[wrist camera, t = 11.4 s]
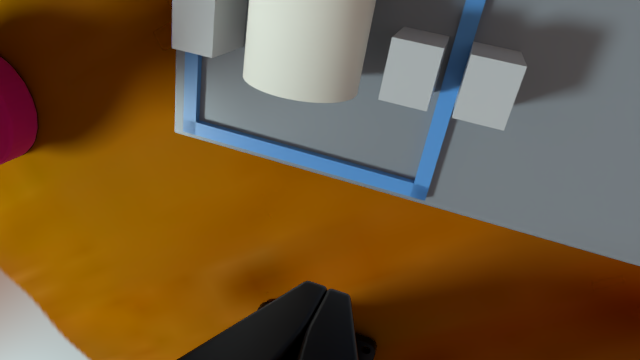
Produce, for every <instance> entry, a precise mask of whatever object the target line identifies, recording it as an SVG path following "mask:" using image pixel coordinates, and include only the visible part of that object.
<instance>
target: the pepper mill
mask: <svg viewBox="0 0 640 360" xmlns="http://www.w3.org/2000/svg"><path fill="white" fill-rule="evenodd" d="M37 129H38V123H37V112H36V109H35V105H34V102H33V99H32V97H31V95H30V93H29V91H28V89H27V87H26V84H25V83H24V81H23V80H22V79H21V77H20V76H19V75H18V73H17V72H16V71H15V70H14V68H13V67H12V66H11V65H10V64H9V63H8V62H6V61H5V60H4V59H3V58H2V57H1V56H0V164H3V163H5V162H7V161H10V160H12V159H14V158H17V157H19V156H21V155H23V154H25V153H26V152H27V151H28V150H29V149H30V148H31V147H32V145H33V143H34V142H35V139H36V134H37Z"/></svg>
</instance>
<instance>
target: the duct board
mask: <svg viewBox="0 0 640 360" xmlns="http://www.w3.org/2000/svg"><path fill="white" fill-rule="evenodd" d="M248 8H249V0H172V48H173V49H176V85H175V132H176V133H179V134H183V135H186V136H190V137H193V138H197V139H200V140H203V141H207V142H210V143H214V144H217V145H221V146H224V147H228V148H231V149H235V150H238V151H242V152H245V153H249V154H252V155H256V156H259V157H262V158H266V159H269V160H273V161H276V162H280V163H283V164H287V165H290V166H294V167H297V168H301V169H304V170H308V171H311V172H315V173H318V174H322V175H325V176H328V177H332V178H335V179H339V180H342V181H346V182H349V183H353V184H356V185H360V186H363V187H367V188H370V189H374V190H377V191H381V192H384V193H387V194H391V195H394V196H398V197H401V198H405V199H408V200H412V201H415V202H419V203H422V204H426V205H429V206H433V207H436V208H440V209H443V210H447V211H450V212H453V213H457V214H460V215H464V216H467V217H471V218H474V219H478V220H481V221H485V222H488V223H492V224H495V225H499V226H502V227H506V228H509V229H513V230H516V231H519V232H523V233H526V234H530V235H533V236H537V237H540V238H544V239H547V240H551V241H554V242H558V243H561V244H565V245H568V246H572V247H575V248H578V249H582V250H585V251H589V252H592V253H596V254H599V255H603V256H606V257H610V258H613V259H617V260H620V261H624V262H627V263H631V264H634V265H638V266H640V0H376V4H375V9H374V14H373V18H372V23H371V28H370V33H369V38H368V43H367V48H366V53H365V58H364V63H363V68H362V73H361V78H360V83H359V88H358V93H357V95H356V97H354V98H353V99H351V100H348V101H344V102H337V103H312V102H302V101H296V100H290V99H285V98H281V97H277V96H274V95H271V94H268V93H265V92H262V91H260V90H258V89H256V88H254V87H252V86H250V85H249V84H248V83H247V82H245V80H244V79H243V67H244V55H245V43H246V31H247V20H248Z"/></svg>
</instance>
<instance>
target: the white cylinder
mask: <svg viewBox="0 0 640 360" xmlns="http://www.w3.org/2000/svg"><path fill="white" fill-rule="evenodd" d="M375 4H376V0H249V8H248V20H247V31H246V43H245V55H244V67H243V79H244V80H245V82H247V83H248V84H249V85H250V86H252V87H254V88H256V89H258V90H260V91H262V92H265V93H268V94H271V95H274V96H277V97H281V98H285V99H290V100H296V101H302V102H312V103H337V102H344V101H348V100H351V99H353V98H354V97H356V95H357V93H358V88H359V83H360V78H361V73H362V68H363V63H364V58H365V53H366V48H367V43H368V38H369V33H370V28H371V23H372V18H373V14H374V9H375Z"/></svg>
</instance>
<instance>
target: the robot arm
mask: <svg viewBox="0 0 640 360" xmlns="http://www.w3.org/2000/svg"><path fill="white" fill-rule="evenodd" d="M364 346H366V347H368V348H369V349H368V348H365V347H364ZM376 348H377V345H376V342H375V341H374V340H373V339H371V338H369V337H366V336H363V335H360V334H358V333H355V329H354V322H353V314H352V306H351V298H350V296H349V295H348V294H346V293H343V292H340V291H337V290H334V289H329V290H327V288H326V287H325V286H323V285H320V284H317V283H314V282H311V281H305V282H303V283H302V284H300V285H298V286H297V287H295V288H293V289H292V290H290V291H288V292H287V293H285V294H284V295H282V296H280V297H279V298H277V299H275V300H274V301H272V302H263V303H262V304H261V305H260V307H259V308H258V310H257V311H256V312H254V313H252V314H251V315H249V316H248V317H246V318H244V319H243V320H241V321H239V322H238V323H236V324H234V325H233V326H231V327H229V328H228V329H226V330H225V331H223V332H221V333H220V334H218V335H216V336H215V337H213V338H211V339H210V340H208V341H207V342H205V343H203V344H202V345H200V346H198V347H197V348H195V349H193V350H192V351H190V352H188V353H187V354H185V355H184V356H182V357H180V358H179V359H177V360H373V359H374V355H375V352H376Z"/></svg>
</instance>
